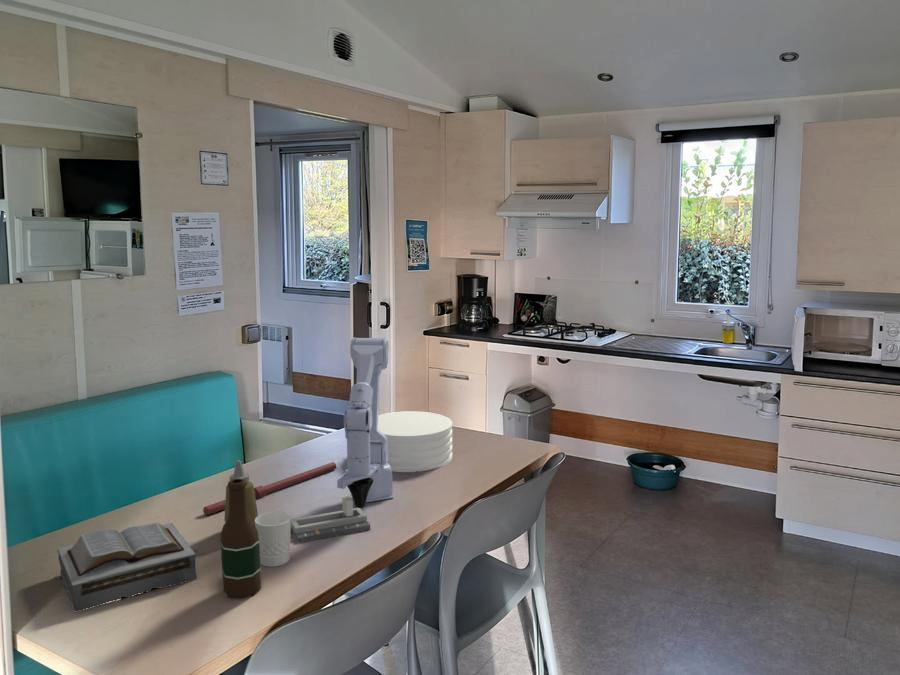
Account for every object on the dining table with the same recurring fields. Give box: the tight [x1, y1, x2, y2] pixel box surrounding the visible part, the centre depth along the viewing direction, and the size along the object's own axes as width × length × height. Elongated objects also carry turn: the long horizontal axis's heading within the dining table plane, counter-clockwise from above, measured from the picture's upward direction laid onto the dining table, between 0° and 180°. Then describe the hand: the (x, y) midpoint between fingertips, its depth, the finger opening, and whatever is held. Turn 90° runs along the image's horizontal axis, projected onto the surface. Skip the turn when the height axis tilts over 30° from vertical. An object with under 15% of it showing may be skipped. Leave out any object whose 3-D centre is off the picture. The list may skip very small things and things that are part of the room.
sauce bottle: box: [220, 479, 262, 600], centre depth 155 cm, size 8×8×24 cm
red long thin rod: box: [202, 461, 337, 516], centre depth 212 cm, size 45×3×3 cm, turn 141°
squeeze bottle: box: [224, 460, 259, 524], centre depth 184 cm, size 8×8×18 cm
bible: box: [57, 522, 198, 612], centre depth 162 cm, size 23×27×10 cm
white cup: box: [255, 511, 292, 568], centre depth 170 cm, size 8×8×10 cm
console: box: [291, 507, 371, 543], centre depth 188 cm, size 18×11×3 cm, turn 115°
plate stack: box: [370, 410, 453, 473], centre depth 240 cm, size 28×28×12 cm
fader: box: [341, 495, 355, 518], centre depth 189 cm, size 3×4×6 cm
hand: (359, 506), depth 190 cm, fingers closed
